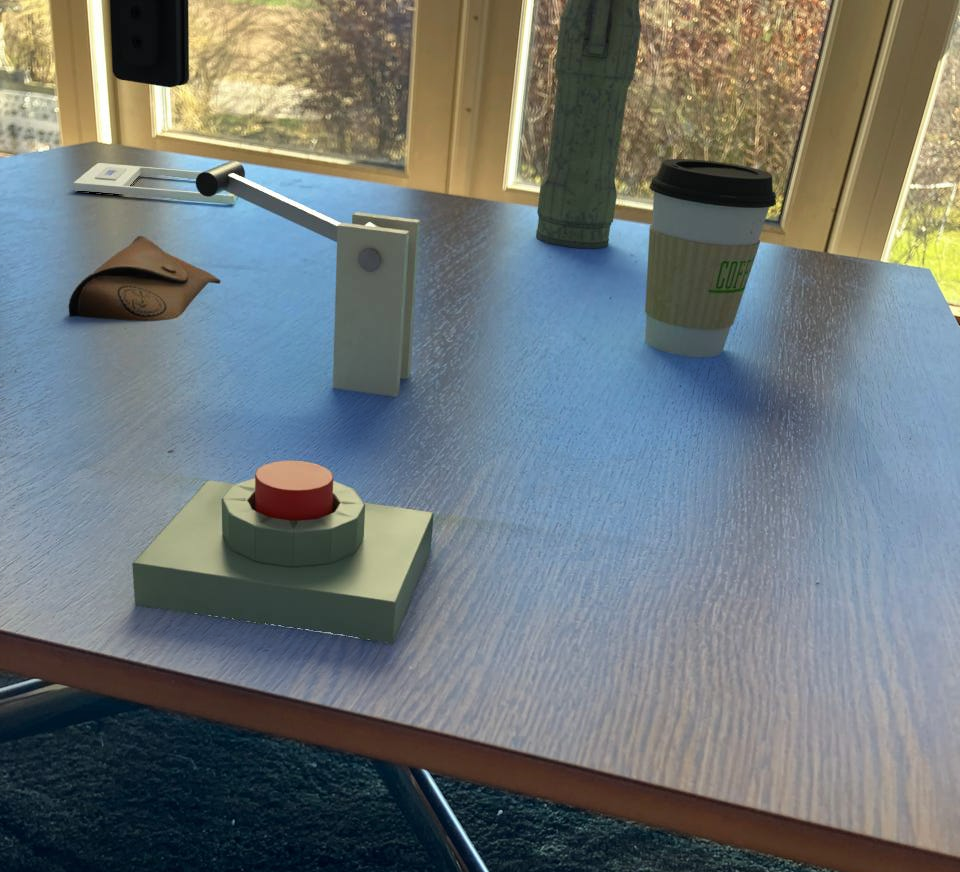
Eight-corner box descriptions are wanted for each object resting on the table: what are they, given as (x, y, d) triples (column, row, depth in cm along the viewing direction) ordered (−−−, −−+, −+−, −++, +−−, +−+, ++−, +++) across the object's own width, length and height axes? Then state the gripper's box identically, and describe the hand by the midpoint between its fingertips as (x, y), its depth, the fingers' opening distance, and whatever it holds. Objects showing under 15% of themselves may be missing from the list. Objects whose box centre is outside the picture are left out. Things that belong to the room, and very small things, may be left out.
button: (245, 519, 52) (244, 483, 51) (268, 489, 55) (268, 455, 54) (321, 530, 52) (322, 495, 51) (340, 499, 55) (341, 466, 54)
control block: (134, 605, 51) (128, 526, 49) (208, 517, 60) (206, 446, 58) (393, 645, 51) (398, 566, 49) (430, 550, 59) (436, 479, 57)
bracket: (285, 407, 75) (287, 223, 69) (316, 372, 82) (319, 202, 76) (432, 428, 75) (446, 244, 69) (451, 391, 82) (465, 221, 76)
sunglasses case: (184, 336, 85) (133, 253, 82) (105, 375, 86) (53, 296, 83) (224, 279, 100) (183, 208, 97) (157, 314, 102) (114, 245, 99)
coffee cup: (761, 379, 92) (805, 183, 84) (651, 379, 89) (687, 176, 81) (707, 343, 100) (743, 161, 92) (604, 342, 97) (633, 154, 89)
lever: (190, 198, 71) (200, 160, 70) (219, 185, 75) (229, 149, 74) (383, 286, 72) (396, 251, 71) (400, 268, 77) (412, 235, 75)
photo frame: (97, 161, 141) (244, 173, 144) (98, 170, 142) (244, 183, 144) (73, 180, 129) (233, 194, 131) (74, 191, 130) (233, 204, 132)
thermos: (537, 247, 128) (580, -122, 111) (532, 226, 139) (571, -115, 121) (614, 254, 129) (669, -112, 111) (603, 233, 139) (653, -105, 121)
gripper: (127, -382, 52) (139, 61, 61) (-53, -501, 39) (-2, 82, 49) (285, -362, 51) (273, 82, 61) (155, -476, 39) (166, 108, 48)
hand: (151, 81), depth 55 cm, fingers closed
